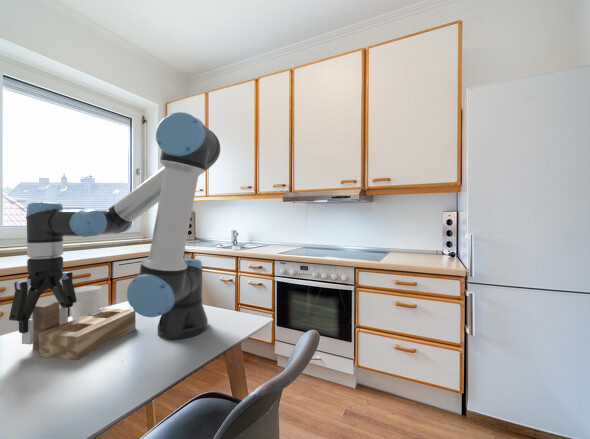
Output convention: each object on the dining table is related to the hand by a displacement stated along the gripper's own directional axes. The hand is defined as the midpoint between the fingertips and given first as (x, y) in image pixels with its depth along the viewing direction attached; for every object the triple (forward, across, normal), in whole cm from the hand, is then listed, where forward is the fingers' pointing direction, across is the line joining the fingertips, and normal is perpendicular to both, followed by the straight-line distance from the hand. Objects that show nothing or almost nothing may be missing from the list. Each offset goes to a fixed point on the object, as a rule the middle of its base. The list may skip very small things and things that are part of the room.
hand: (46, 335), depth 77 cm
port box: (+3, -5, +10) cm, 12 cm away
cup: (+3, -16, -4) cm, 17 cm away
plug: (+3, 0, 0) cm, 3 cm away
